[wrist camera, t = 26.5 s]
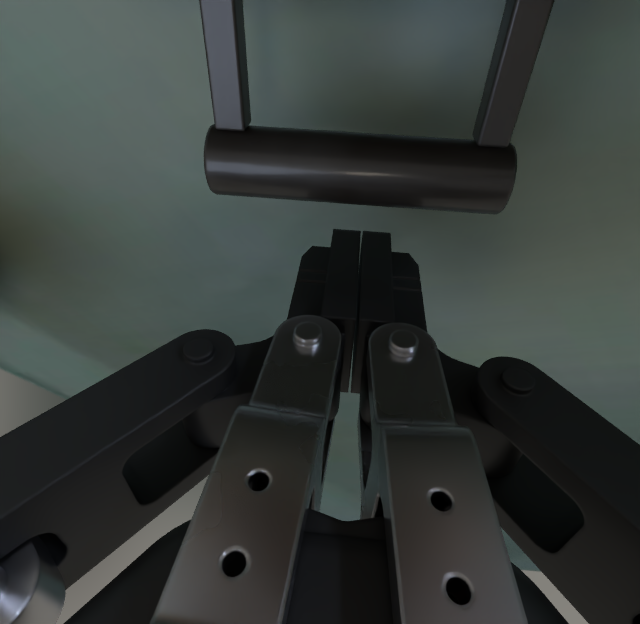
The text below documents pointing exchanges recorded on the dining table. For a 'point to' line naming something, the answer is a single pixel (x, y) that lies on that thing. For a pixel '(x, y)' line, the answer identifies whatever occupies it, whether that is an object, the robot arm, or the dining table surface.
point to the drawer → (366, 148)
